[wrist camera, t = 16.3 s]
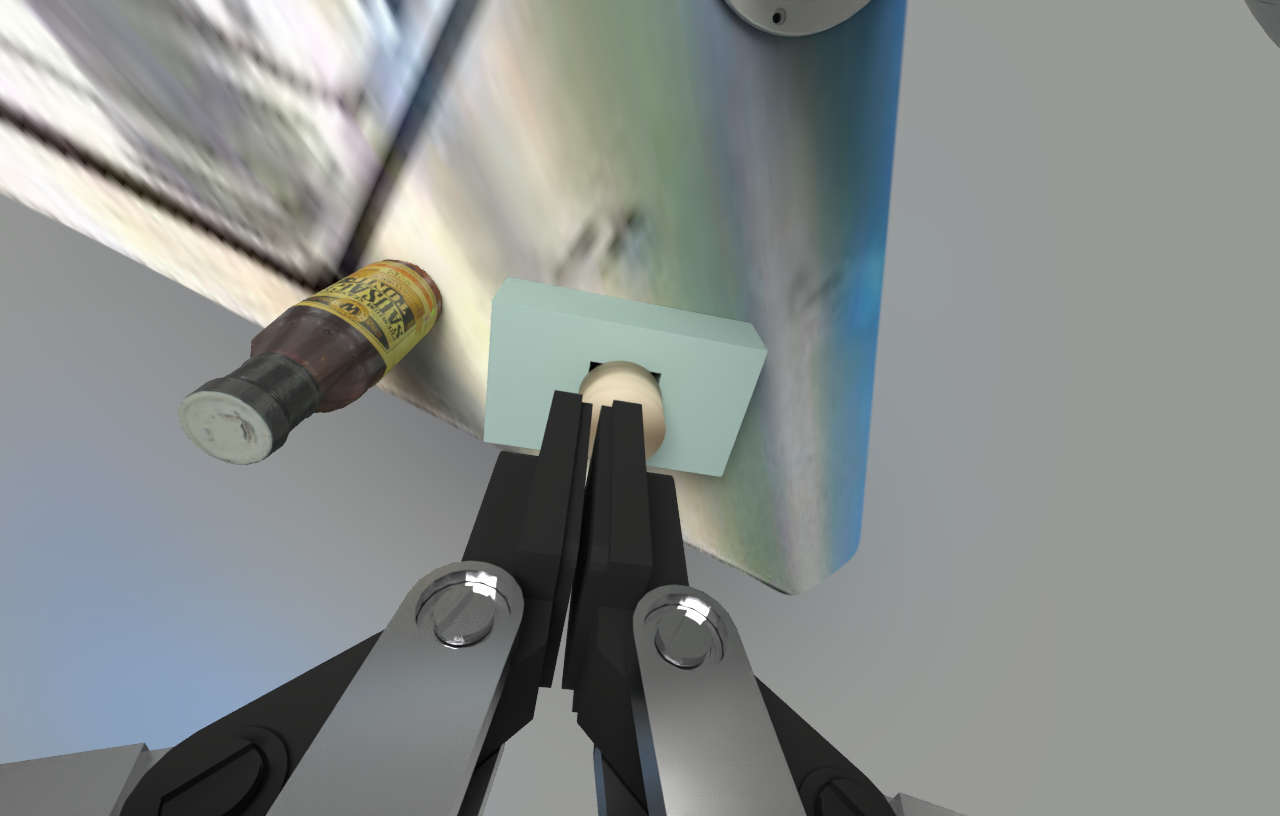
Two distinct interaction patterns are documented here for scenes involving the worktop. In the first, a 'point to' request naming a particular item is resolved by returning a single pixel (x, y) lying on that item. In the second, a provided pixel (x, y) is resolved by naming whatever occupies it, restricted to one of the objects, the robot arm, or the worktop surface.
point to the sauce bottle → (313, 361)
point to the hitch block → (620, 331)
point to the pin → (626, 398)
